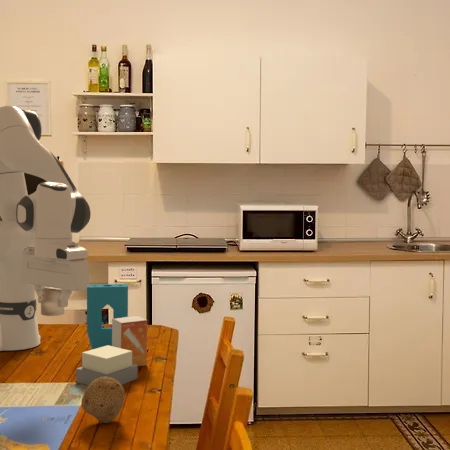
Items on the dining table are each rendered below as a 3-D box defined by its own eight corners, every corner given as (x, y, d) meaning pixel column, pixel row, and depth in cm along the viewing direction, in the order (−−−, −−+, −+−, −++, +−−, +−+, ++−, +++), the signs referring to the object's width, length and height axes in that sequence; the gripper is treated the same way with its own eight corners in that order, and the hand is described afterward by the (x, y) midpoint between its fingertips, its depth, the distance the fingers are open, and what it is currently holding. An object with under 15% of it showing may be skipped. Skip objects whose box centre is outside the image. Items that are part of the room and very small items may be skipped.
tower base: (76, 383, 163) (76, 368, 162) (105, 372, 172) (105, 358, 172) (109, 391, 157) (109, 376, 157) (137, 380, 166) (137, 365, 166)
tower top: (82, 367, 163) (82, 352, 163) (107, 359, 170) (107, 345, 170) (106, 374, 158) (106, 358, 158) (132, 366, 165) (132, 350, 165)
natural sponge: (77, 430, 132) (77, 383, 131) (86, 414, 141) (86, 370, 140) (121, 431, 132) (121, 384, 131) (127, 415, 141) (127, 370, 140)
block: (86, 354, 188) (86, 287, 186) (87, 349, 193) (87, 284, 191) (127, 352, 190) (128, 286, 189) (127, 348, 195) (127, 283, 193)
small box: (120, 369, 174) (120, 322, 173) (111, 363, 179) (111, 318, 178) (147, 365, 178) (147, 319, 177) (137, 359, 183) (137, 315, 182)
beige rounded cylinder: (36, 313, 155) (36, 289, 155) (52, 310, 160) (52, 286, 159) (52, 317, 152) (52, 292, 152) (68, 313, 157) (69, 289, 157)
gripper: (13, 246, 157) (13, 301, 159) (75, 253, 147) (74, 312, 148) (33, 244, 163) (32, 297, 164) (93, 251, 153) (92, 308, 154)
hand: (52, 304), depth 156 cm, fingers closed on beige rounded cylinder, 5 cm apart
